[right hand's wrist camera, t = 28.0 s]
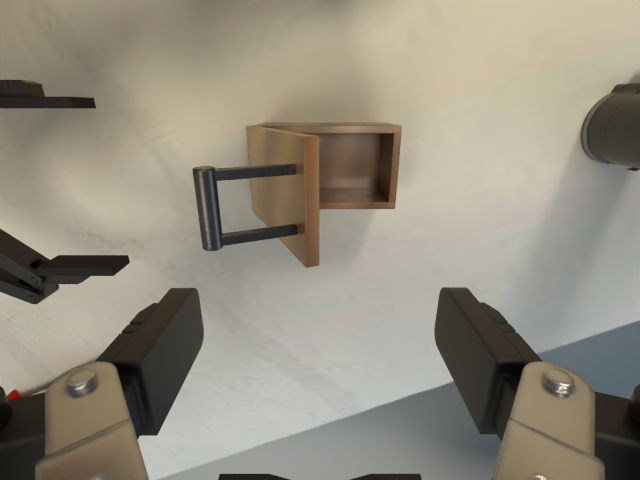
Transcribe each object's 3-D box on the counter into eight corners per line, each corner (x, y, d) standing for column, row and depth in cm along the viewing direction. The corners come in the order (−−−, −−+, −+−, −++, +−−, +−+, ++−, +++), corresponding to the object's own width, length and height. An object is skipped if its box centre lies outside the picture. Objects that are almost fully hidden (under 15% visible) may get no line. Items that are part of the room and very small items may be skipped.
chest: (386, 122, 46) (401, 125, 37) (382, 192, 49) (395, 209, 41) (264, 122, 46) (252, 125, 37) (268, 192, 49) (257, 209, 41)
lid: (319, 135, 22) (191, 140, 19) (319, 265, 26) (210, 286, 23) (256, 125, 37) (176, 127, 34) (261, 209, 40) (189, 218, 37)
